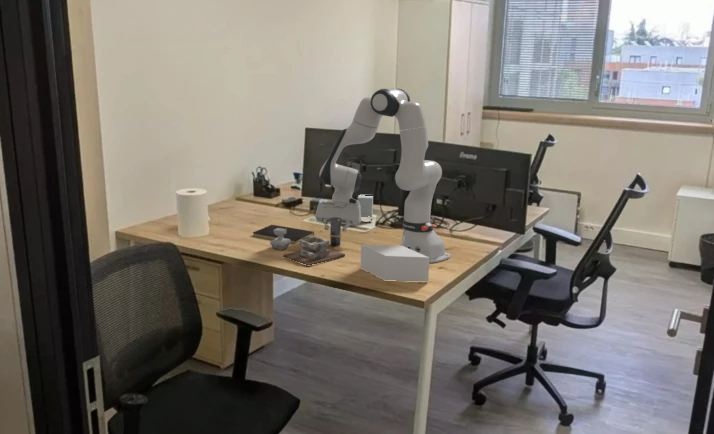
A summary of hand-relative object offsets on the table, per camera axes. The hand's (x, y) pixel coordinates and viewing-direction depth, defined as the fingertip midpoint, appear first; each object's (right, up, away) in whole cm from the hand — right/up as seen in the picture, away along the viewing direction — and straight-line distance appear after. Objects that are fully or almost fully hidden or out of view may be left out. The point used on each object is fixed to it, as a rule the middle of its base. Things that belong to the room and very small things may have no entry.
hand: (335, 230), depth 288 cm
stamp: (-23, -8, -4) cm, 25 cm away
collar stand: (-8, -11, -14) cm, 20 cm away
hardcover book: (-24, -3, +15) cm, 28 cm away
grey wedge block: (+24, -17, -34) cm, 45 cm away
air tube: (0, -7, +2) cm, 7 cm away
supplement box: (+14, +4, +43) cm, 45 cm away
